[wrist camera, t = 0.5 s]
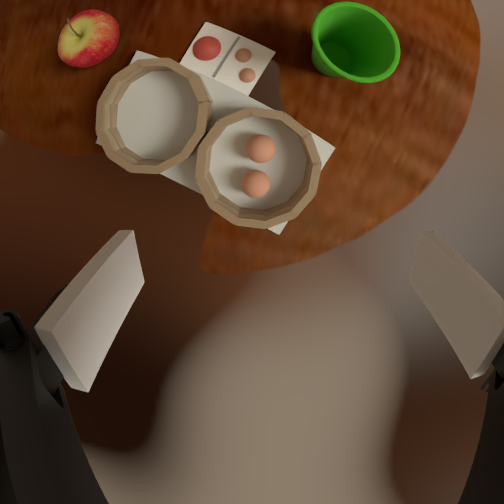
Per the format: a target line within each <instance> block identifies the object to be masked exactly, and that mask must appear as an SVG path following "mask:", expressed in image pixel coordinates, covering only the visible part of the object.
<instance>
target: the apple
mask: <svg viewBox="0 0 504 504" xmlns="http://www.w3.org/2000/svg"><path fill="white" fill-rule="evenodd" d="M67 22H68V23H67V24H66V25H65V26H64V28H63V29H62V31H61V34H60V37H59V41H58V55H59V57H60V59H61V60H62V61H63V62H65V63H66V64H68V65H70V66H73V67H77V68H87V67H91V66H94V65H96V64H98V63H100V62H102V61H103V60H105V59H106V58H107V57H109V56H110V55H111V54H112V53H113V52H114V50H115V49H116V47H117V45H118V41H119V35H120V30H119V25H118V23H117V21H116V20H115V18H113V17H112V16H111V15H110V14H108V13H106V12H103V11H100V10H92V9H90V10H85V11H82V12H80V13H79V14H77V15H76V16H74V17H73V18H72V19H71V20H70V21H69V19H67Z"/></svg>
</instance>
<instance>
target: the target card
mask: <svg viewBox="0 0 504 504" xmlns="http://www.w3.org/2000/svg"><path fill="white" fill-rule="evenodd" d="M275 53H276V52H274V51H273V50H271V49H269V48H267V47H264V46H262V45H260V44H258V43H256V42H254V41H252V40H250V39H247V38H245V37H243V36H241V35H238V34H236V33H234V32H231V31H229V30H226V29H224V28H221V27H219V26H216V25H213V24H211V23H208V22H205V24H204V25H203V27H202V28H201V30H200V31H199V33H198V34H197V36H196V37H195V39H194V40H193V42H192V44H191V45H190V47H189V48H188V50H187V52H186V53H185V55H184V57H183V58H182V60H181V62H180V64H181V65H183V66H184V67H186V68H188V69H190V70H192V71H195V72H197V73H199V74H202V75H204V76H206V77H209V78H211V79H213V80H215V81H217V82H220V83H222V84H224V85H226V86H228V87H230V88H232V89H234V90H237V91H239V92H241V93H243V94H245V95H247V96H248V95H249V94H250V92H251V90H252V89H253V87H254V85H255V84H256V82H257V81H258V79H259V78H260V76H261V74H262V73H263V71H264V70H265V68H266V67H267V65H268V63H269V62H270V60H271V59H272V57H273V56H274V54H275Z"/></svg>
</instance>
